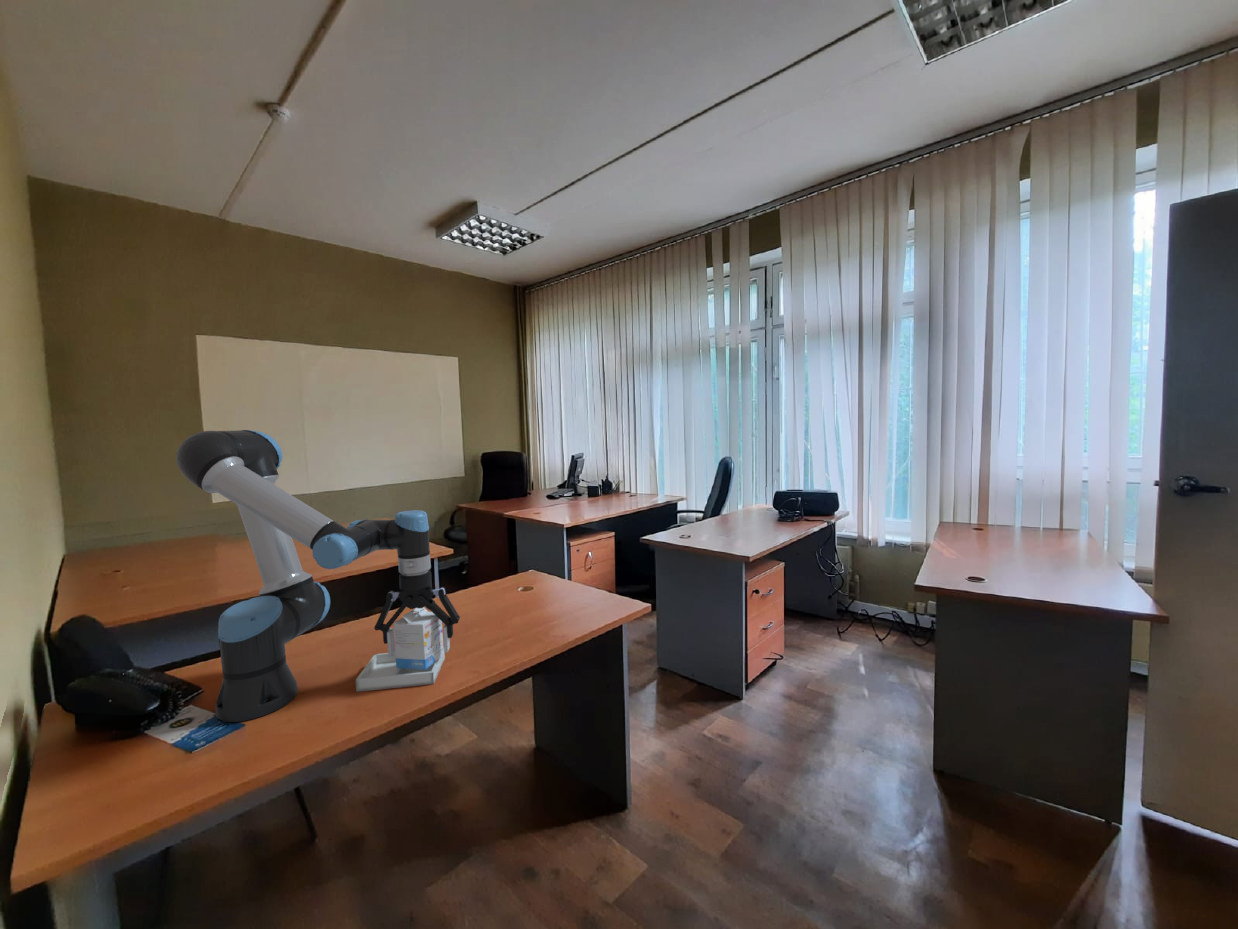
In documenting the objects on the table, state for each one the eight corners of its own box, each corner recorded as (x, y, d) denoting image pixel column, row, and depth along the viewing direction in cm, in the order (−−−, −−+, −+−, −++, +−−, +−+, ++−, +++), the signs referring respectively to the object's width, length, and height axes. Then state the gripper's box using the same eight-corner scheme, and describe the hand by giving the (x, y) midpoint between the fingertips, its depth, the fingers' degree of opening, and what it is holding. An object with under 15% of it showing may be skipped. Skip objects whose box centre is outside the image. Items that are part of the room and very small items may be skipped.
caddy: (356, 691, 114) (355, 680, 114) (375, 665, 127) (374, 654, 127) (433, 684, 117) (433, 672, 116) (444, 658, 130) (444, 647, 129)
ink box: (425, 670, 117) (422, 618, 116) (395, 668, 119) (392, 616, 118) (444, 654, 125) (442, 605, 124) (416, 652, 127) (413, 603, 126)
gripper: (356, 579, 115) (362, 664, 116) (463, 572, 118) (467, 654, 120) (368, 570, 122) (373, 650, 124) (468, 564, 126) (472, 641, 128)
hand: (419, 652), depth 122 cm, fingers open, 13 cm apart
